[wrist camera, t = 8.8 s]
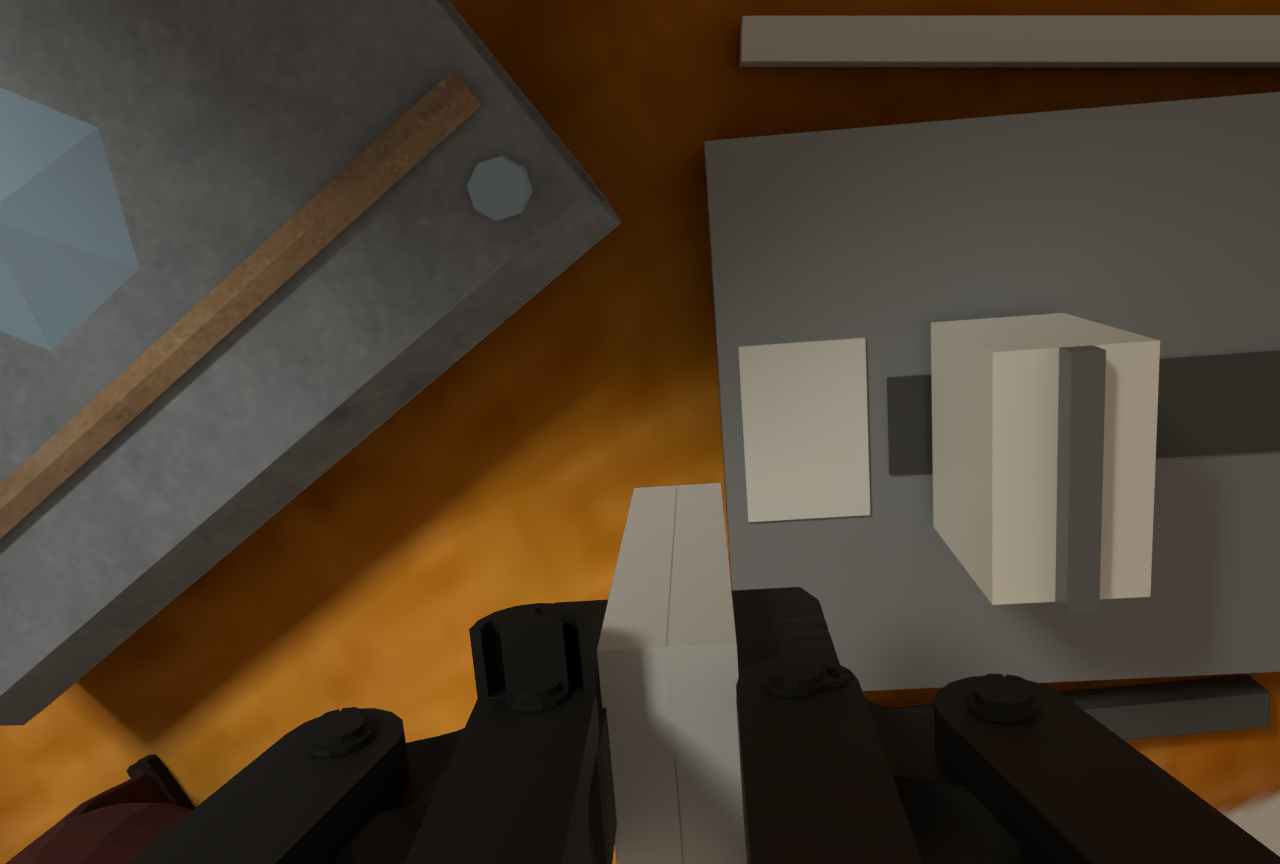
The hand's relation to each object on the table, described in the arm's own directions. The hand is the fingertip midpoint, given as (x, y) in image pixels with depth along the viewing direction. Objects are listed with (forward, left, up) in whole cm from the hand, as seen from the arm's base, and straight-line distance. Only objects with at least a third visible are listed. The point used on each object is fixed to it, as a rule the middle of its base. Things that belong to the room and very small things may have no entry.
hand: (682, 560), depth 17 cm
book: (-15, +6, -10) cm, 19 cm away
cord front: (+11, +9, -9) cm, 17 cm away
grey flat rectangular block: (+11, 0, -9) cm, 14 cm away
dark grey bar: (+8, -9, -9) cm, 15 cm away
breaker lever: (+7, 0, -7) cm, 10 cm away
